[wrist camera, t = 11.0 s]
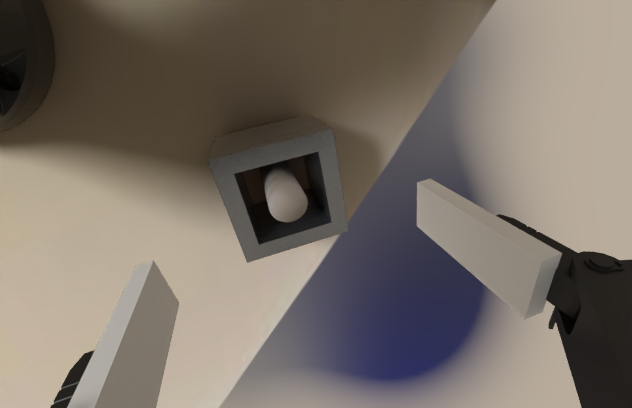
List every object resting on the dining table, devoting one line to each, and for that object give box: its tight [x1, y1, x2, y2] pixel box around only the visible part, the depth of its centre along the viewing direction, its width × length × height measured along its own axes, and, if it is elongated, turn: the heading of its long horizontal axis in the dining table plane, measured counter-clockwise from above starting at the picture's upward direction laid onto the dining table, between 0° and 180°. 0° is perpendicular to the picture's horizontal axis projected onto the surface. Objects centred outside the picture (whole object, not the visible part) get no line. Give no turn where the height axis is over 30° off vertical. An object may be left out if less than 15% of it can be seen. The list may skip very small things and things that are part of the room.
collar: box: [208, 114, 348, 263], centre depth 22 cm, size 8×8×7 cm
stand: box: [242, 156, 310, 222], centre depth 22 cm, size 7×7×9 cm
